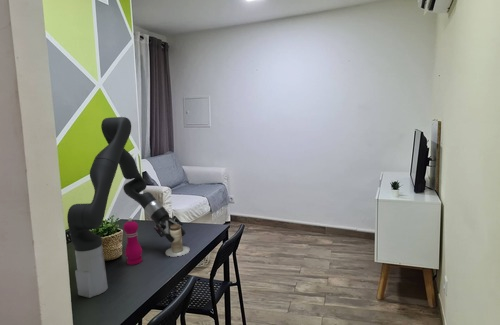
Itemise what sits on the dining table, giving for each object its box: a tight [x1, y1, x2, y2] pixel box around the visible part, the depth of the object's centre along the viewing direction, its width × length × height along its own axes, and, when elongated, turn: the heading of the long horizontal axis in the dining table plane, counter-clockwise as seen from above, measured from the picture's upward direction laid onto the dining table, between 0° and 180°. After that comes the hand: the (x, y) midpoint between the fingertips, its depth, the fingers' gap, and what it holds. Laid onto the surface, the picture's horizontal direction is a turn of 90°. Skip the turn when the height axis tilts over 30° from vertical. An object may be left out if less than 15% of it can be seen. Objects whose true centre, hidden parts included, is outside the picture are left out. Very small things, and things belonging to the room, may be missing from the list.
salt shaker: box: [169, 223, 184, 253], centre depth 162 cm, size 5×5×12 cm
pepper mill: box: [123, 217, 143, 266], centre depth 153 cm, size 7×7×20 cm
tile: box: [165, 245, 191, 258], centre depth 163 cm, size 11×11×1 cm
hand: (178, 237), depth 161 cm, fingers open, 8 cm apart
